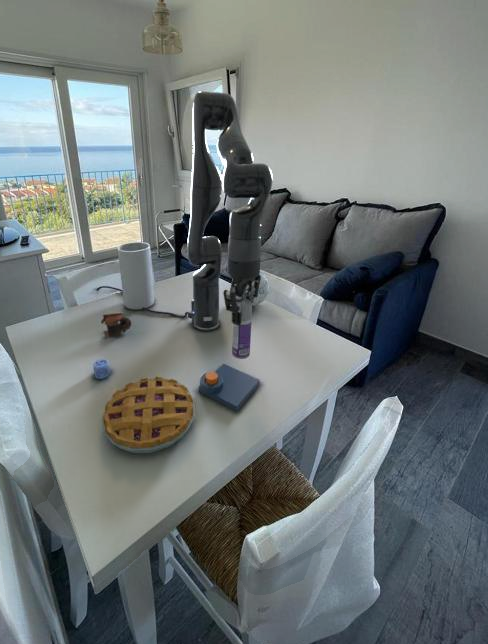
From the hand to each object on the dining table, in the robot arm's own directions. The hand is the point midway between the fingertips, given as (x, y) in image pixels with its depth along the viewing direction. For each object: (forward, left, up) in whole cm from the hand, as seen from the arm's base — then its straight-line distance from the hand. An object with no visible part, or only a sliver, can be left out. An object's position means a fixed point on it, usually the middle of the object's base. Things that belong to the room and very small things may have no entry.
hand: (241, 319), depth 79 cm
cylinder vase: (-60, +18, -21) cm, 66 cm away
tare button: (-5, -6, -18) cm, 20 cm away
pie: (-12, -22, -21) cm, 33 cm away
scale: (-2, -2, -21) cm, 21 cm away
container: (0, 0, -11) cm, 11 cm away
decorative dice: (-35, -19, -21) cm, 45 cm away
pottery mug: (-50, -2, -21) cm, 54 cm away
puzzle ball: (-22, +44, -21) cm, 54 cm away
